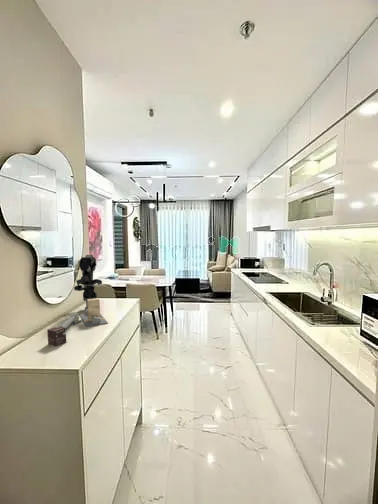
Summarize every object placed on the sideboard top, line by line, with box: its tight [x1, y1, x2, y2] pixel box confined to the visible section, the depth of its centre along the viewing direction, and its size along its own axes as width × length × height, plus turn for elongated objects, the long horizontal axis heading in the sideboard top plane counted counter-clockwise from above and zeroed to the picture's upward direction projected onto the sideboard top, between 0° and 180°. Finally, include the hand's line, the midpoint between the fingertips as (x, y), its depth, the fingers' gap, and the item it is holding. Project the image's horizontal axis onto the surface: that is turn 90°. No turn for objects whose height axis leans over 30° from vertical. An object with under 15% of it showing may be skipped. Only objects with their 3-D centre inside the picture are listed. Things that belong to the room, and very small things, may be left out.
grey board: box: [79, 308, 109, 328], centre depth 183 cm, size 30×12×4 cm, turn 27°
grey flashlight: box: [56, 311, 80, 329], centre depth 167 cm, size 5×7×25 cm
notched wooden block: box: [87, 297, 101, 321], centre depth 178 cm, size 5×6×12 cm
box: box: [46, 325, 67, 347], centre depth 142 cm, size 6×6×7 cm
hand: (89, 297), depth 192 cm, fingers closed
